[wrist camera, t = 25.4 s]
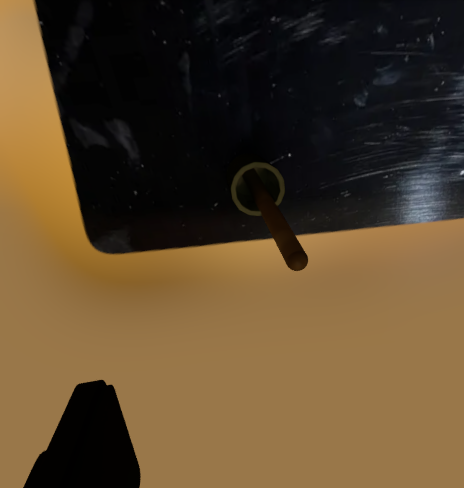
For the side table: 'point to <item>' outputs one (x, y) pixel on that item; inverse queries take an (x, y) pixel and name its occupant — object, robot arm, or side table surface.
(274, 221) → the stick
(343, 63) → the side table surface
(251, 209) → the holder
